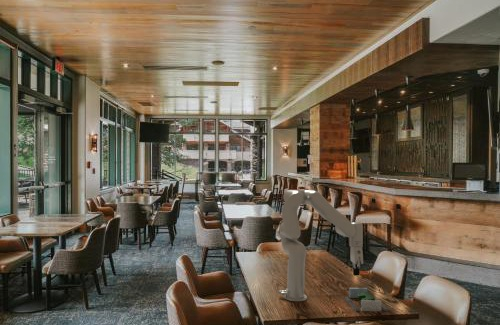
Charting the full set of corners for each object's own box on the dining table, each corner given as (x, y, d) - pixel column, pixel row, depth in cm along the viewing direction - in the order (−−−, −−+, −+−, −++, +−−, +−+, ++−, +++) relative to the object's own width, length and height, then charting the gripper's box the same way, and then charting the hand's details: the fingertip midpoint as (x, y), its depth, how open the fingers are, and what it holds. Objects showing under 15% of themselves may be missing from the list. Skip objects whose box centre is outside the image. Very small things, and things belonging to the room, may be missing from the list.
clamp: (361, 311, 223) (356, 294, 227) (372, 308, 223) (366, 292, 227) (366, 310, 212) (360, 292, 216) (377, 307, 212) (371, 289, 216)
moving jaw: (350, 297, 232) (350, 288, 232) (348, 296, 234) (349, 287, 234) (367, 297, 232) (367, 288, 232) (366, 296, 234) (366, 287, 234)
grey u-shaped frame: (355, 311, 210) (356, 301, 210) (344, 299, 230) (345, 290, 230) (387, 311, 211) (387, 301, 211) (374, 299, 231) (374, 290, 231)
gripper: (366, 245, 232) (366, 278, 232) (358, 241, 247) (358, 271, 247) (353, 246, 232) (353, 278, 232) (346, 241, 247) (346, 271, 247)
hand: (356, 275), depth 239 cm, fingers closed
